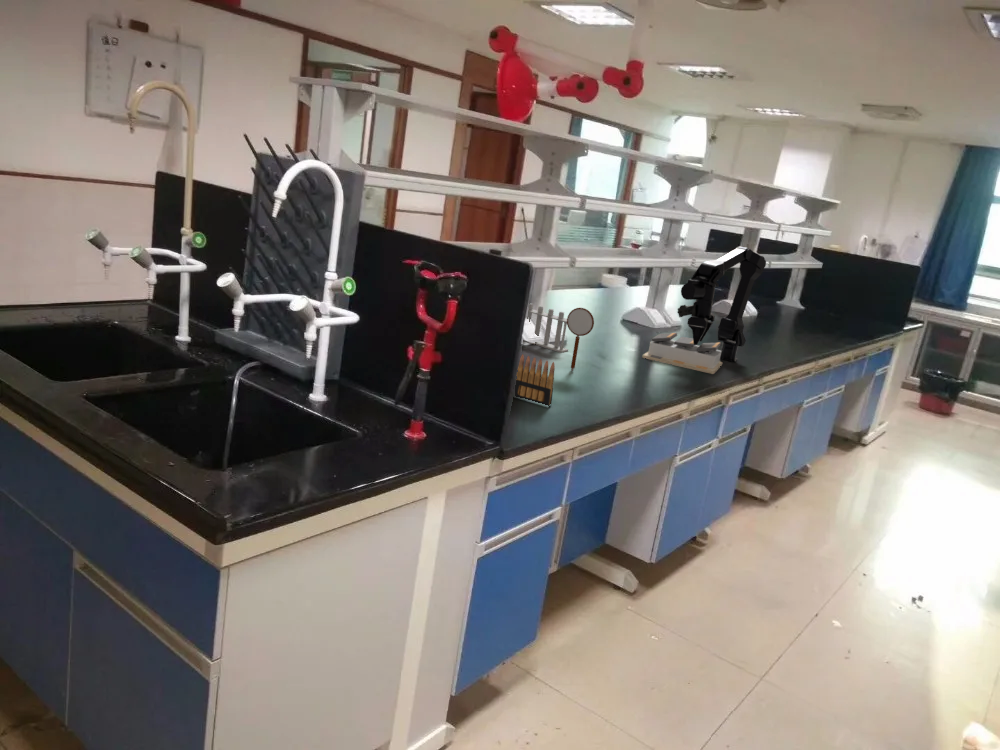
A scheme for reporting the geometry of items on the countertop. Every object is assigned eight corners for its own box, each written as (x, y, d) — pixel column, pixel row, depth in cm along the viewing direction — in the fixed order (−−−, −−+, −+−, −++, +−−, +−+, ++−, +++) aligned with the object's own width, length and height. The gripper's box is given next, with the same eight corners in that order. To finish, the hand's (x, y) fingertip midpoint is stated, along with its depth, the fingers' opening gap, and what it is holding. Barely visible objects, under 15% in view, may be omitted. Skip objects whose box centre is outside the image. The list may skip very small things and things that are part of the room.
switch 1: (659, 336, 274) (659, 333, 274) (677, 335, 271) (677, 332, 271) (651, 341, 264) (651, 337, 263) (670, 340, 261) (669, 337, 261)
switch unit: (654, 349, 278) (657, 334, 276) (722, 364, 269) (725, 348, 267) (642, 357, 262) (645, 341, 260) (713, 374, 253) (717, 357, 251)
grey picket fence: (504, 335, 267) (509, 299, 264) (511, 334, 271) (516, 298, 267) (560, 353, 253) (567, 315, 249) (568, 351, 256) (574, 314, 253)
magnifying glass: (586, 373, 230) (596, 310, 225) (584, 374, 229) (595, 311, 223) (560, 367, 234) (570, 304, 228) (558, 368, 232) (568, 305, 227)
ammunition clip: (511, 397, 196) (517, 353, 193) (514, 396, 198) (521, 352, 194) (548, 408, 192) (555, 363, 188) (551, 406, 193) (558, 362, 190)
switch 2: (703, 345, 268) (703, 342, 268) (721, 345, 265) (721, 341, 265) (696, 351, 258) (696, 347, 257) (715, 350, 255) (715, 347, 255)
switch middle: (681, 339, 271) (681, 336, 271) (699, 342, 269) (699, 338, 268) (674, 344, 260) (674, 341, 260) (692, 347, 258) (693, 343, 258)
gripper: (686, 293, 271) (680, 335, 274) (676, 298, 254) (669, 343, 258) (717, 298, 266) (711, 340, 270) (709, 303, 250) (701, 348, 253)
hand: (697, 343), depth 263 cm, fingers open, 9 cm apart
